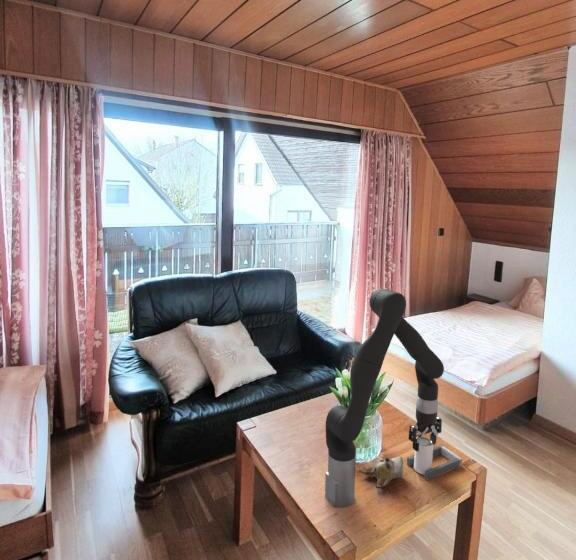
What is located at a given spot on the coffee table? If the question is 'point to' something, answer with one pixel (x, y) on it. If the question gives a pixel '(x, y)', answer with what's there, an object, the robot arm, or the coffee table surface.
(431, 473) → the frame
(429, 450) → the can
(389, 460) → the ceramic sculpture
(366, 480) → the coffee table surface
